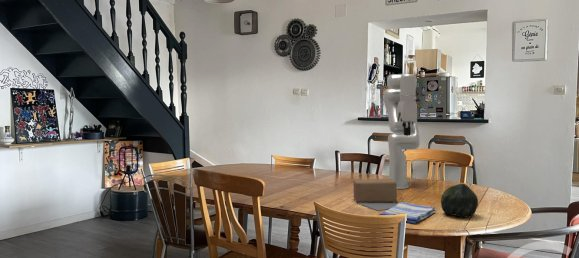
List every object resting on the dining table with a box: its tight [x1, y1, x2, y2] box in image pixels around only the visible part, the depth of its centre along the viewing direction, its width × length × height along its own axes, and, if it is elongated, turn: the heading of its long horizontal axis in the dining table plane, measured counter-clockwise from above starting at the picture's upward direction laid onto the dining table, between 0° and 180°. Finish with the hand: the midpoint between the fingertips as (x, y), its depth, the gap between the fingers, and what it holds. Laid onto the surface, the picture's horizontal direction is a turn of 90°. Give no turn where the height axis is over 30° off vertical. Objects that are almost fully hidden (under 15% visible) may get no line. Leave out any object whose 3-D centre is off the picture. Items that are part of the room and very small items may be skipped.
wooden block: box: [352, 178, 398, 203], centre depth 214 cm, size 10×10×20 cm
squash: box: [440, 183, 479, 218], centre depth 186 cm, size 14×15×15 cm
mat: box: [356, 202, 399, 212], centre depth 205 cm, size 17×16×1 cm
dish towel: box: [378, 201, 437, 225], centre depth 186 cm, size 17×24×3 cm
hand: (407, 135), depth 217 cm, fingers closed
